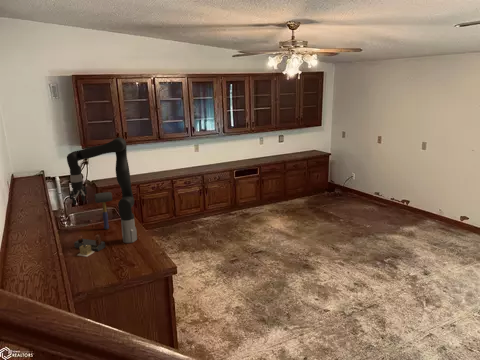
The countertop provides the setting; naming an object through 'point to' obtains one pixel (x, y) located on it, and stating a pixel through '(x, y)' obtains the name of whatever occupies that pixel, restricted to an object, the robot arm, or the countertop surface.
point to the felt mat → (85, 255)
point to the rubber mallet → (104, 205)
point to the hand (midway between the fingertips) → (79, 202)
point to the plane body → (90, 243)
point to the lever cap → (85, 249)
